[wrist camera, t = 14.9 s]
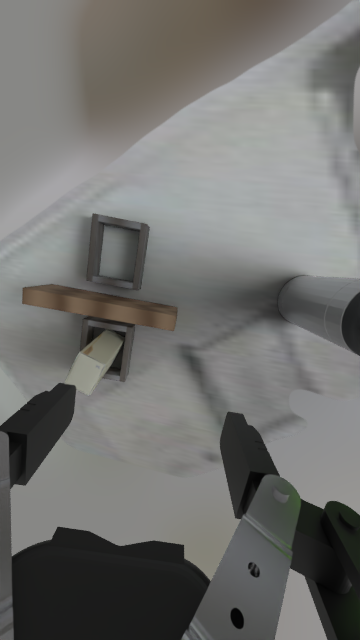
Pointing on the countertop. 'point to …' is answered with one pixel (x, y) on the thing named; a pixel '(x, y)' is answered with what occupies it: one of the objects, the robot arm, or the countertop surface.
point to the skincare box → (94, 361)
